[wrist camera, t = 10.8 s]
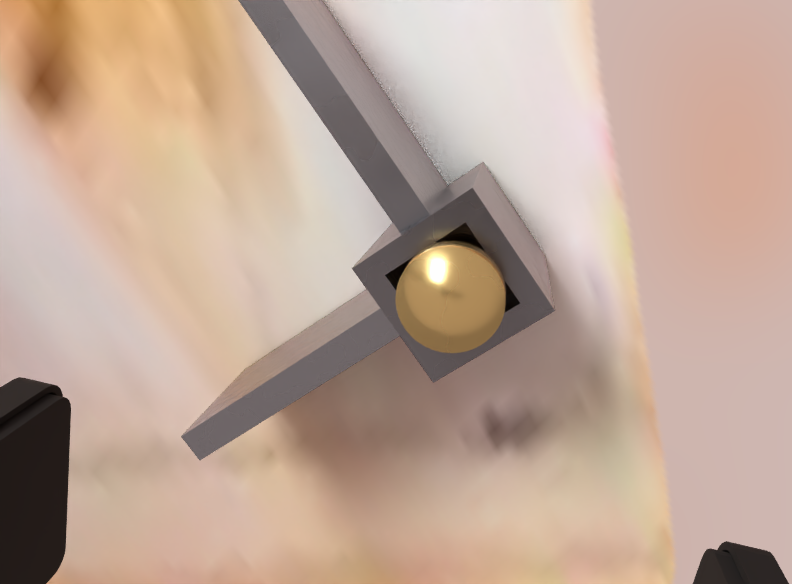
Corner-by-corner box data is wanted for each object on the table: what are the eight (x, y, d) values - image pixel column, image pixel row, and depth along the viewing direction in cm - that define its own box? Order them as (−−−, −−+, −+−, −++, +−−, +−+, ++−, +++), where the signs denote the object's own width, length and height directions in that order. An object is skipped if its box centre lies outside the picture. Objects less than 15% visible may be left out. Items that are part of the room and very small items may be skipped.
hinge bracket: (281, 418, 35) (217, 510, 28) (90, 164, 33) (-36, 187, 26) (545, 255, 31) (554, 310, 24) (344, -47, 29) (284, -94, 21)
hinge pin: (457, 291, 32) (435, 372, 23) (414, 228, 32) (374, 285, 23) (523, 250, 31) (527, 317, 22) (479, 184, 31) (465, 226, 22)
